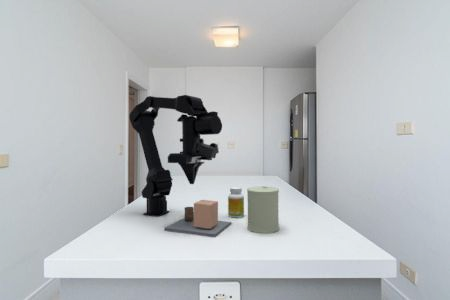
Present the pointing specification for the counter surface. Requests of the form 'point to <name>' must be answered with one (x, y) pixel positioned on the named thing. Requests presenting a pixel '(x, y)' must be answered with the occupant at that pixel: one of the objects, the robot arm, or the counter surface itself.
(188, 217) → the walnut post
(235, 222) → the counter surface
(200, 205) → the terracotta colored cuboid
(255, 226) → the can
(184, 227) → the board
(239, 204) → the supplement bottle
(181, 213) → the counter surface
